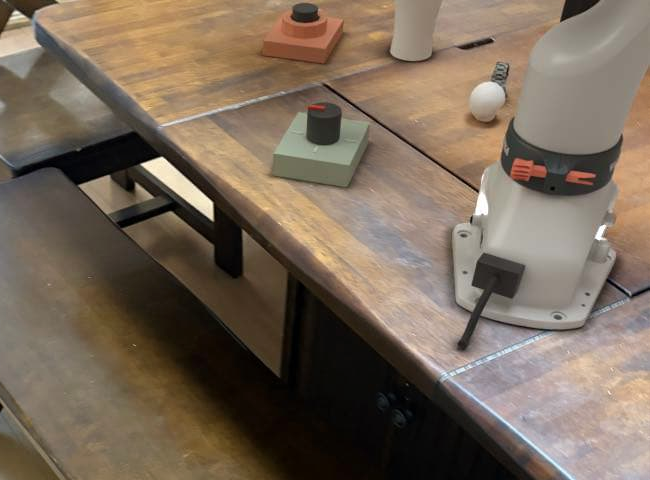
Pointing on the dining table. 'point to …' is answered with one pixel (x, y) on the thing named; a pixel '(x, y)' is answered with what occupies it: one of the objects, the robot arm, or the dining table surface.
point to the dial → (323, 123)
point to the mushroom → (486, 101)
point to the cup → (414, 28)
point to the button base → (303, 38)
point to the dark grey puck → (305, 13)
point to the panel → (321, 153)
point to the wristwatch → (501, 75)
